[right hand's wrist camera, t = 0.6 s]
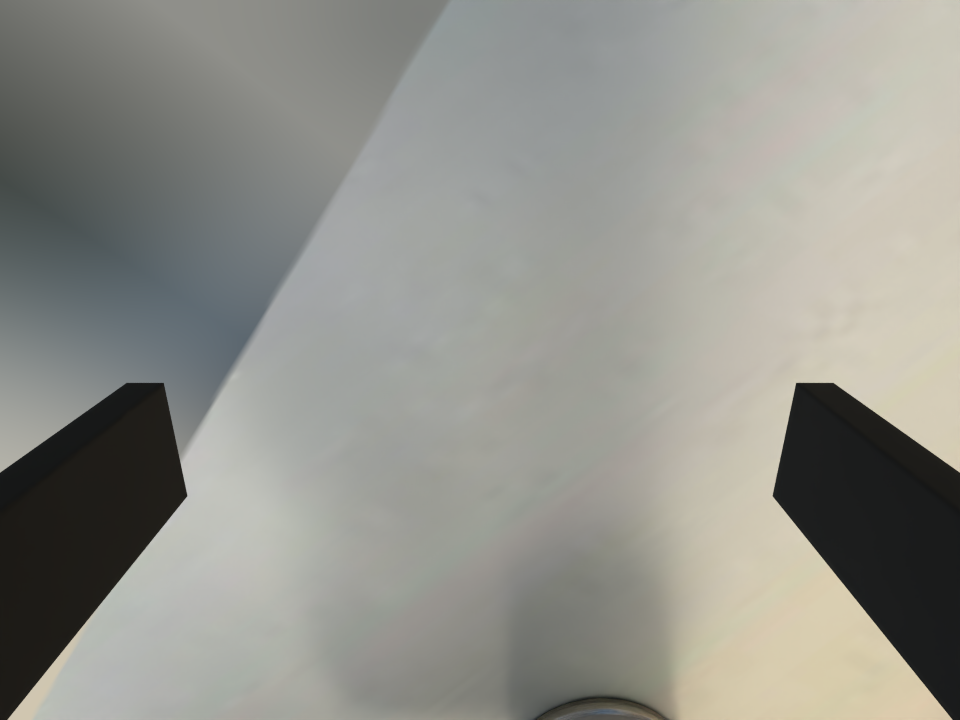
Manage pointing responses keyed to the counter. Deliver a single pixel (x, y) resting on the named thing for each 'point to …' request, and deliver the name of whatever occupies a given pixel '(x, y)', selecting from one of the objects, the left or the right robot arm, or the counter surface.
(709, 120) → the counter surface
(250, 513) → the counter surface
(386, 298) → the counter surface
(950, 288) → the counter surface
